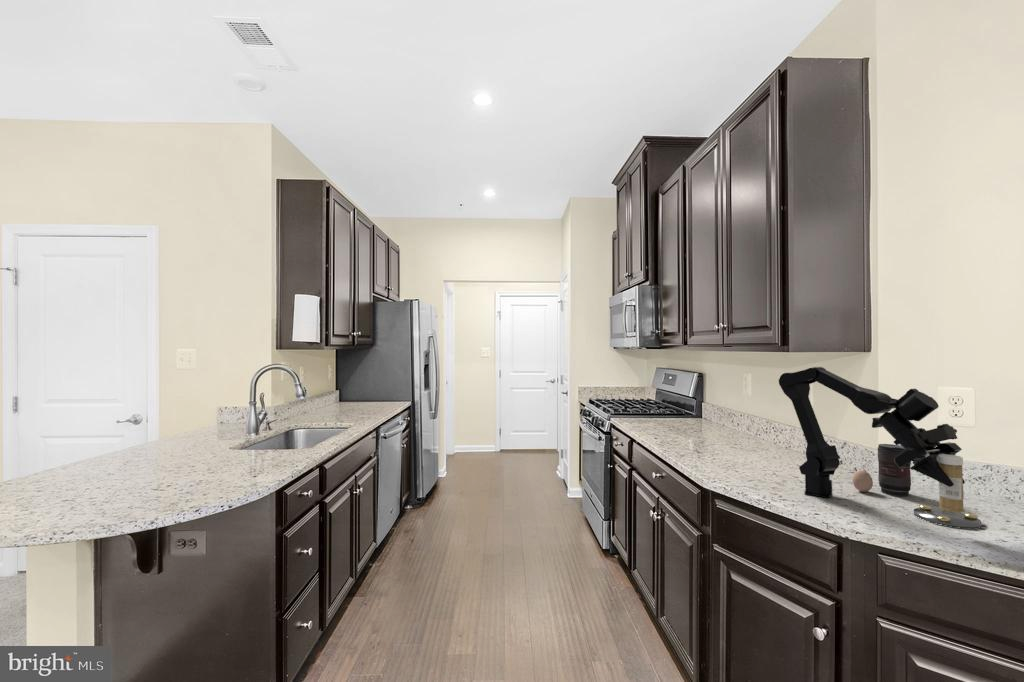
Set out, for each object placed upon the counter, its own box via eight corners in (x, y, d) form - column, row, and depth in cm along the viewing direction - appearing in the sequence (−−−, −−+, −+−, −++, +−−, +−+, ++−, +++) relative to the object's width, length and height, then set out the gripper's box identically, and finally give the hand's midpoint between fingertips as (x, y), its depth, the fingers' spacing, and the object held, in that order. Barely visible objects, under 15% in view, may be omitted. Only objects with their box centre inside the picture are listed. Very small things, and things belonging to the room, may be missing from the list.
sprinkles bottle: (966, 511, 111) (965, 456, 111) (961, 515, 109) (960, 458, 109) (941, 505, 115) (940, 452, 115) (936, 509, 112) (935, 455, 113)
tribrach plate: (915, 521, 120) (915, 514, 120) (912, 507, 130) (912, 501, 130) (985, 533, 112) (985, 525, 112) (976, 518, 122) (976, 511, 122)
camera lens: (918, 498, 139) (917, 448, 139) (888, 496, 140) (886, 447, 141) (901, 490, 147) (900, 443, 147) (873, 488, 148) (871, 442, 149)
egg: (864, 489, 148) (863, 468, 148) (877, 494, 143) (876, 472, 143) (848, 489, 148) (848, 468, 148) (861, 494, 143) (860, 472, 143)
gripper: (907, 415, 112) (965, 471, 102) (951, 411, 119) (1010, 463, 109) (872, 441, 120) (923, 495, 109) (915, 436, 126) (968, 487, 116)
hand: (957, 484), depth 111 cm, fingers closed on sprinkles bottle, 4 cm apart
